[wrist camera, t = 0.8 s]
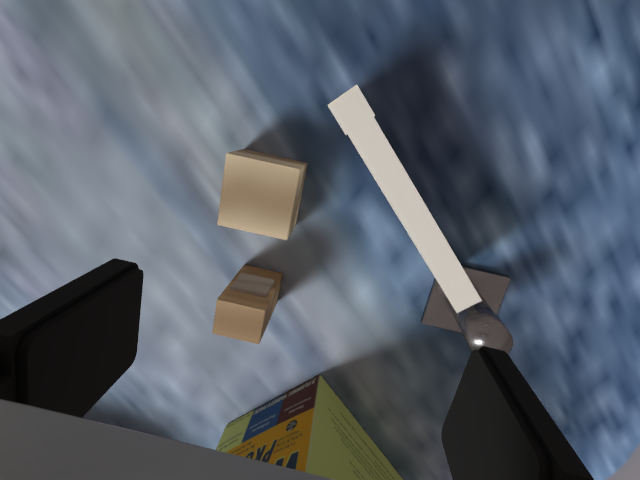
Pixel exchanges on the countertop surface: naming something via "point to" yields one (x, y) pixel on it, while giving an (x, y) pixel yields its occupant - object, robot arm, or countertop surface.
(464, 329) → the knob on square plate
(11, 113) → the countertop surface
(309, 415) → the protein box
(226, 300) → the stile
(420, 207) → the white long bar
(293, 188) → the tan cube
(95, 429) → the robot arm
